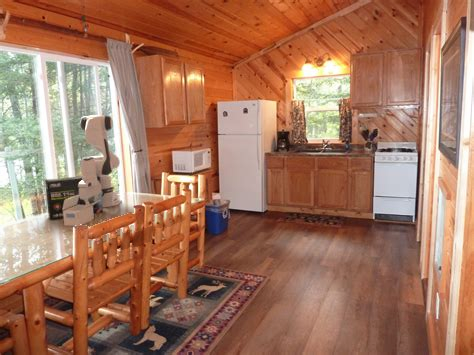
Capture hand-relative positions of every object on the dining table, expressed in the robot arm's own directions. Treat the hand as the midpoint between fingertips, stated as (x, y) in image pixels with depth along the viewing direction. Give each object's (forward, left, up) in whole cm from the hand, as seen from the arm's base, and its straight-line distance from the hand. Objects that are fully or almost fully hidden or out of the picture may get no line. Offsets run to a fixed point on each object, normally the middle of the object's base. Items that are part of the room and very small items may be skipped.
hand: (91, 203), depth 238 cm
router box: (-18, -24, -14) cm, 33 cm away
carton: (0, -10, -14) cm, 17 cm away
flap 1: (0, -15, 0) cm, 15 cm away
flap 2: (0, -1, -1) cm, 2 cm away
